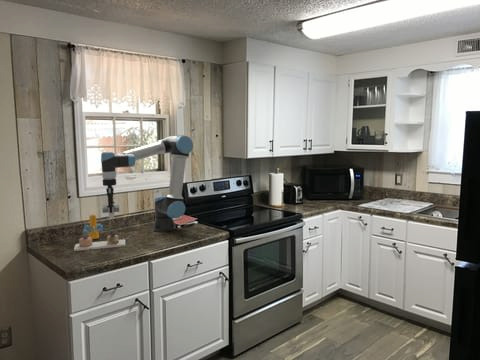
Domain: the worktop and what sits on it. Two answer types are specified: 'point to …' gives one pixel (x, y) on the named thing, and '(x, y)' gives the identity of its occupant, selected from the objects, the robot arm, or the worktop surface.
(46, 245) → the worktop surface
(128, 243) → the worktop surface
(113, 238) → the stand
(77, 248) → the board
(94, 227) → the tube with blue rings
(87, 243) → the peg
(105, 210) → the square frame with hole
